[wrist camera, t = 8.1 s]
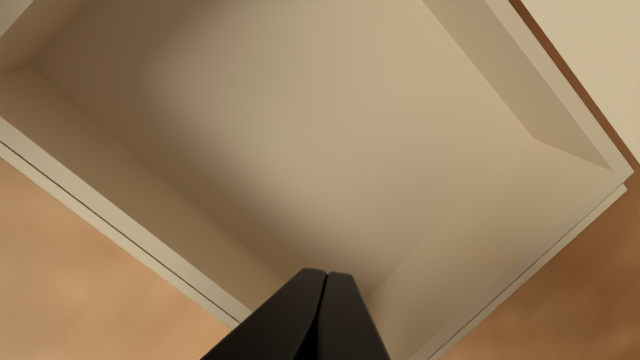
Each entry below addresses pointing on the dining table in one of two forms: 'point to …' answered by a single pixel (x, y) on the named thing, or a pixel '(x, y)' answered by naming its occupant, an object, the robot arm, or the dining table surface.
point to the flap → (600, 54)
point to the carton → (310, 147)
